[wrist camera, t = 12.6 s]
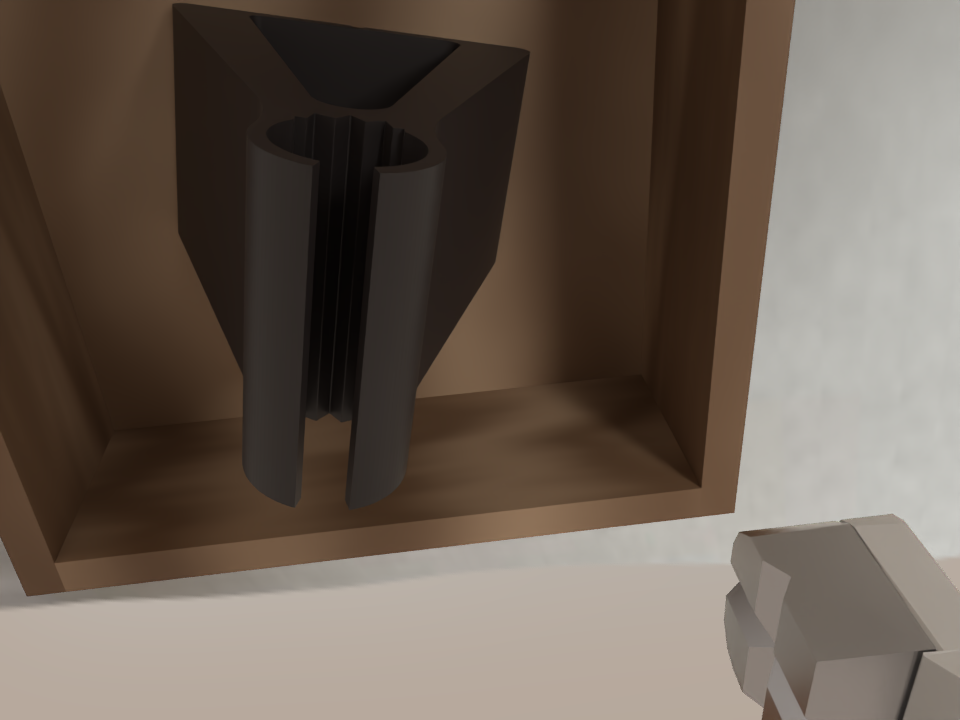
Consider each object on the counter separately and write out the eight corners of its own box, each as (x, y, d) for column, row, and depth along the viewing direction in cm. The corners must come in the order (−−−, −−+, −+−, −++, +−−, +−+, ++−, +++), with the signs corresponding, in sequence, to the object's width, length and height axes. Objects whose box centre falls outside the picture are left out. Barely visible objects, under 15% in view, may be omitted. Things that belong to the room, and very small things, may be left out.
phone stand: (529, 49, 23) (659, 203, 13) (493, 257, 26) (576, 522, 15) (175, -2, 21) (-6, 127, 11) (179, 226, 24) (38, 497, 14)
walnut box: (700, -306, 20) (840, -377, 14) (660, 381, 30) (734, 512, 24) (-141, -261, 19) (-378, -318, 13) (99, 441, 29) (26, 596, 23)
